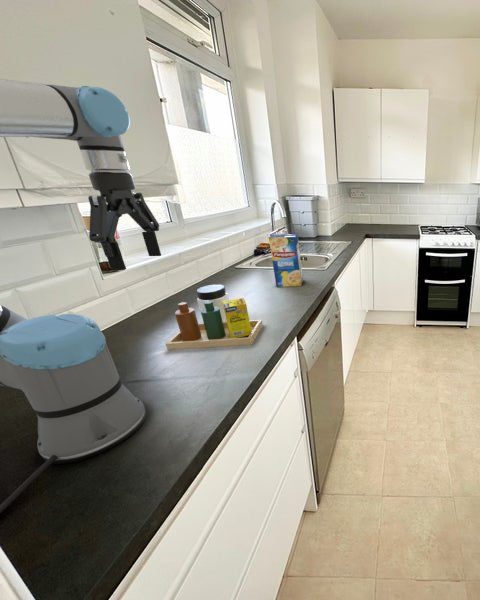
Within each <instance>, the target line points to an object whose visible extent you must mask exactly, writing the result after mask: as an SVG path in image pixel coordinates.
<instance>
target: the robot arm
mask: <svg viewBox="0 0 480 600" xmlns="http://www.w3.org/2000/svg"><path fill="white" fill-rule="evenodd" d="M130 125H131V119H130V116H129V112H128V110H127V107H126V106H125V104H124V103H123V101H122V100H121V99H120V98H119V97H118V96H117V95H116V94H114V93H113V92H111V91H109V90H108V89H105V88H103V87H99V86H89V85H82V86H79V87H78V86H75V87H74V86H66V85H65V86H64V85H57V84H44V83H40V82H32V81H31V82H30V81H23V80H15V79H5V78H0V138H40V139H51V140H52V139H54V140H65V141H66V140H69V141H74V142H76V143H77V145H78V148H79V152H80V155H81V157H82V160H83V163H84V167H85V169H86V170H88V171H90V172H89V173H88V177H89V180H90V183H91V187H92V189H93V190H94V191H98V192H99V194H100V195H88V197H87V198H88V203H89V206H90V209H89V211H90V212H89V236H88V237H89V241H90V242H94V243H97V244H100V246H101V248H102V250H103V253H104V256H105V257H106V259H107V262H108V264H109V265H108V266H109V268H110V270H111V271H125V270H127V267H126V264H125V261H124V257H123V255H122V252H121V248H120V245H119V242H118V241H114V240H115V237H116V236H115V235H116V232H117V228H118V224H119V221H120V218H121V217H122V216H123V215H128V216H129V217H130V218H131V219H132V220H133V221H134V222H135V223H136V224H137V225H138V226H139V227H140V228H141V229H142V230H143V231H141V234H142V237H143V241H144V244H145V247H146V251H147V254H148V257H161V256H162V253H161V249H160V246H159V243H158V239H157V235H156V232H159V231H160V223H159V222H158V220H157V219H156V217H155V216H154V213H153V212H152V210H151V209H150V207H149V206H148V204H147V203H146V201H145V198H144V196H143V193H141V192H132V191H133V190H135V189H136V185H135V184H136V183H135V181H134V178H133V175H132V174H131V173H130V172H128V171H130V170H131V168H130V165H129V161H128V157H127V155H126V151H125V147H124V144H123V141H122V140H123V139H122V137H121V136H122V135H124V134H126V133H127V131H128V130H129V128H130ZM106 341H107V339H106V337H105V334H104V333H103V332H102V329H101V328H100V327H99V325H98V323H97V322H96V321H94V320H93V318H91V317H88V316H85V315H82V314H75V313H72V314H71V313H62V314H59V315H55V314H48V315H43V316H37V317H33V318H29V319H27V318H25V317H24V316H22V315H20V314H18V313H16V312H15V311H13V310H11V309H9V308H8V307H5V306H3V305H1V304H0V386H2V387H7V388H11V389H16V390H20V391H22V392H23V393H24V396H25V397H26V399H27V401H28V402H29V404H30V406H31V408H32V410H33V411H34V413H35V415H36V417H37V435H38V438H37V443H36V445H37V446H36V447H37V451H38V453H39V455H40V457H41V458H42V459H43V461H44V463H42V464H41V466H39V467H38V468H37V469H36V470H34V472H33V473H32V474H31V475H30V476H29V477H28V478H26V479H25V481H23V483H21V484H20V485H19V486H18V487H17V488H16V489H15V490H14V492H12V493H11V494H10V495H9V496H8V497H7V498H6V499H5V500H4V501H3V502H2V503H1V504H0V514H2V512H3V511H5V509H7V508H8V507H9V506H10V505H11V504H12V503H13V502H14V501H15V500H16V499H17V498H18V497H19V496H20V495H21V494H22V493H24V491H25V490H26V489H27V488H28V487H29V486H30V485H31V484H32V483H33V482H34V481H35V480H36V479H37V478H39V476H40V475H41V474H43V472H44V471H46V470H47V468H48V467H50V466H51V465H52V464H53V465H55V464H56V465H63V464H72V463H76V462H81V461H85V460H88V459H91V458H93V457H95V456H98V455H100V454H102V453H105V452H107V451H108V450H110V449H113V448H114V447H116V446H118V445H119V444H122V443H123V442H124V441H126V440H127V439H129V438H130V437H131V436H133V434H135V433H136V432H137V431H138V430H139V429H140V427H141V426H142V425H143V424H144V422H145V420H146V419H147V409H146V408H145V404H144V403H143V402H142V400H141V399H139V398H138V397H137V396H134V394H133V393H132V392H131V391H130V390H129V389H128V388H127V387H126V385H124V384H123V382H122V380H121V377H120V375H119V372H118V369H117V367H116V365H115V362H114V359H113V357H112V354H111V352H110V350H109V347H108V345H107V342H106Z"/></svg>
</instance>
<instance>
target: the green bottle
mask: <svg viewBox="0 0 480 600" xmlns="http://www.w3.org/2000/svg"><path fill="white" fill-rule="evenodd" d="M204 305H205V309H203V310H201V313H200V315H201V314H202V316H201V319H202V318H203V320H202V323H203V322H204V326H205V330H206V333H207V337H208V339H209V340H215V339H222V338H224V337H225V336H226V334H225V329H224V325H223V321H222V317H221V313H220V308H219V307H214V305H213V301H207V302H204Z"/></svg>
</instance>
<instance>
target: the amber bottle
mask: <svg viewBox="0 0 480 600" xmlns="http://www.w3.org/2000/svg"><path fill="white" fill-rule="evenodd" d="M177 306H178V309H177V310H176V311H175V312H174V316H175V319H176V322H177V325H178V329H179V331H180V332H181V336H182V339H183V341H196V340H198V339H200V338H201V332H200V329H199V325H198V323H199V321H198V318H197V313H196V311H195V308H193V307H189V304H188V302H186V301H182V302H180V303H177Z"/></svg>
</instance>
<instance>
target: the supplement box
mask: <svg viewBox="0 0 480 600" xmlns="http://www.w3.org/2000/svg"><path fill="white" fill-rule="evenodd" d="M222 303H223V308H224V312H225V316H226V321H227V325H228V330H229V334H230V338H247V337H249V335H250V334H251V332H252V331H251V326H250V321H249V320H250V316H249V311H248V305H247V302H246V300H245V298H244V297H239V298H234V299H229V300H228V301H223V302H222Z"/></svg>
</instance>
